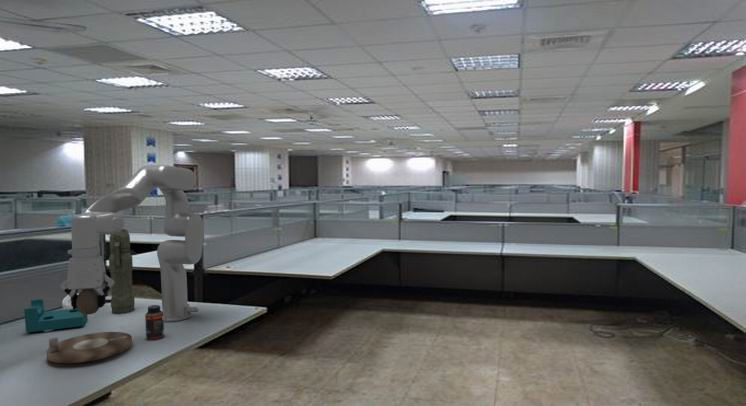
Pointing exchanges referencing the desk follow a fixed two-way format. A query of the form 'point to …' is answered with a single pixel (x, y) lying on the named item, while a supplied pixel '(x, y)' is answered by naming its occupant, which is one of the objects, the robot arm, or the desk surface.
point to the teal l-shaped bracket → (51, 317)
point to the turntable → (88, 347)
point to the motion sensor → (67, 302)
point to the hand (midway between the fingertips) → (88, 306)
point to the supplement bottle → (154, 323)
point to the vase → (87, 301)
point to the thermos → (121, 273)
